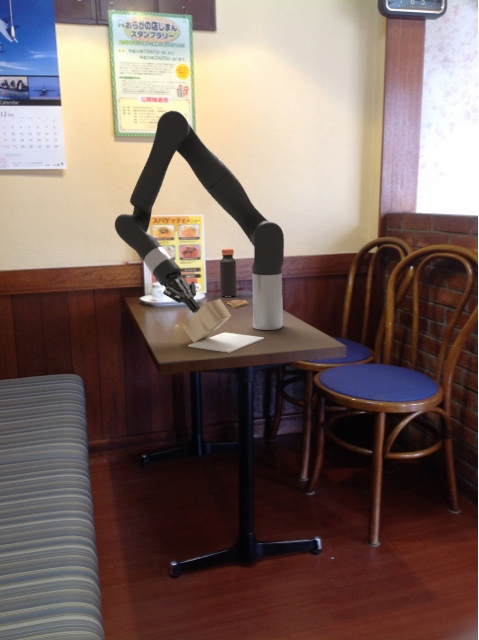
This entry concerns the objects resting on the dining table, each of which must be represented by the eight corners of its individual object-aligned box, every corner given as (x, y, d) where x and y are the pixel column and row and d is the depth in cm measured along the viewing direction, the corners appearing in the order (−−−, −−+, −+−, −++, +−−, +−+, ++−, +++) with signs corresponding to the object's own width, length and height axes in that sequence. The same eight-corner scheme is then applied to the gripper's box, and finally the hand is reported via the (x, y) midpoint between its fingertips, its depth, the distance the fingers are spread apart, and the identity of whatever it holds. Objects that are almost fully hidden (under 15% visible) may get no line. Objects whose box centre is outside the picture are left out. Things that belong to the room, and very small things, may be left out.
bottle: (239, 296, 243) (238, 249, 239) (225, 298, 239) (224, 250, 235) (231, 294, 248) (230, 248, 244) (217, 296, 245) (216, 249, 241)
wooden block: (195, 321, 169) (219, 298, 162) (206, 338, 168) (231, 315, 161) (182, 325, 164) (207, 301, 157) (193, 343, 163) (219, 319, 156)
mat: (224, 333, 174) (224, 332, 174) (264, 338, 166) (264, 337, 166) (188, 346, 159) (188, 345, 159) (229, 352, 151) (229, 351, 151)
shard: (235, 309, 215) (235, 305, 215) (218, 308, 219) (218, 303, 219) (249, 305, 225) (249, 300, 224) (232, 303, 228) (232, 299, 228)
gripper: (153, 259, 161) (189, 305, 157) (183, 255, 171) (217, 298, 167) (140, 277, 165) (175, 322, 160) (170, 272, 175) (203, 314, 171)
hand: (196, 310), depth 164 cm, fingers closed
